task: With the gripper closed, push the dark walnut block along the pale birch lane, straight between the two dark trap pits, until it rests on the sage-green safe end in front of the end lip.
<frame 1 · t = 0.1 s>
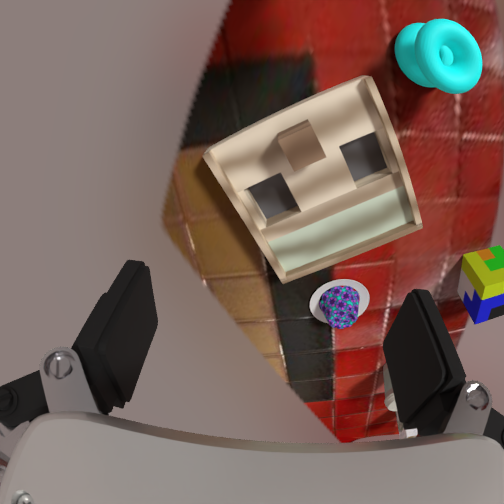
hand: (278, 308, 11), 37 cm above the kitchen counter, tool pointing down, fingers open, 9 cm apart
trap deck: (320, 178, 46), on the kitchen counter
donuts: (421, 54, 33), on the kitchen counter
coffee cup: (393, 364, 71), on the kitchen counter
puzzle toy: (478, 268, 53), on the kitchen counter
syrup box: (404, 403, 83), on the kitchen counter
pudding: (339, 299, 60), on the kitchen counter
walnut block: (300, 140, 40), point 3 cm above the kitchen counter, touching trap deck
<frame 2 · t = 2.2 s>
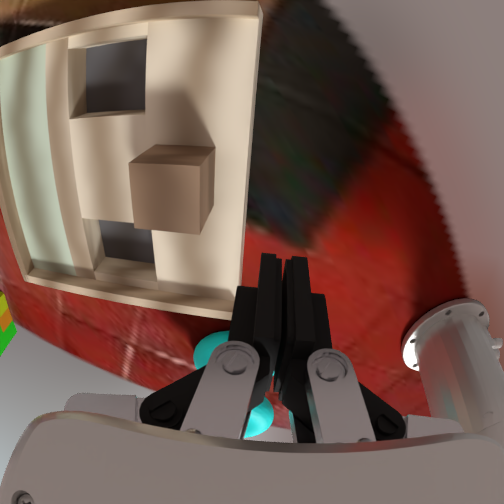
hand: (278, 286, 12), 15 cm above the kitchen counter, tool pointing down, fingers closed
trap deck: (114, 159, 25), on the kitchen counter
donuts: (236, 351, 37), on the kitchen counter
walnut block: (184, 174, 22), point 3 cm above the kitchen counter, touching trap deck
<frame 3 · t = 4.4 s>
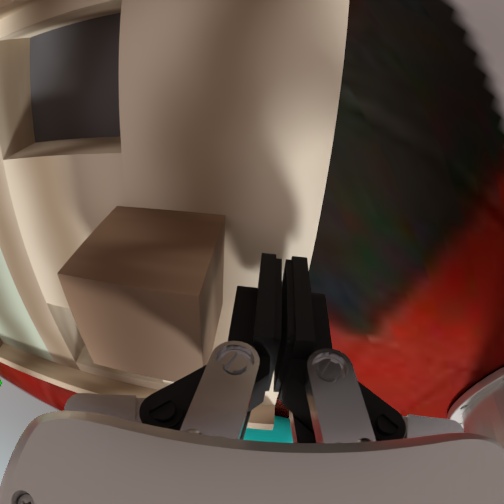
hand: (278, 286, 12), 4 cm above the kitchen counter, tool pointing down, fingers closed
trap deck: (83, 215, 16), on the kitchen counter
donuts: (261, 428, 28), on the kitchen counter
walnut block: (171, 257, 13), point 3 cm above the kitchen counter, touching gripper
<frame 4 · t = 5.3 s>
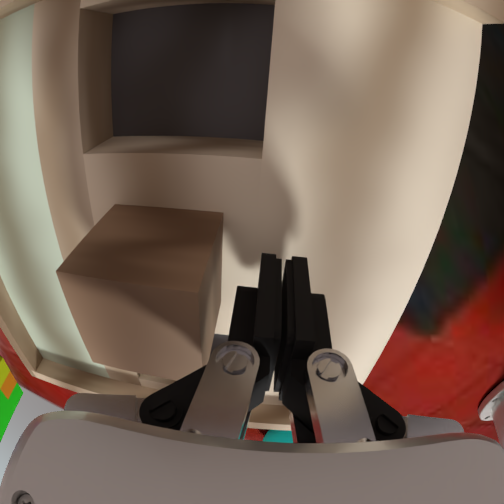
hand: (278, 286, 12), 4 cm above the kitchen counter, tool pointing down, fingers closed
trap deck: (168, 221, 16), on the kitchen counter
donuts: (311, 429, 28), on the kitchen counter
walnut block: (169, 255, 13), point 3 cm above the kitchen counter, touching gripper
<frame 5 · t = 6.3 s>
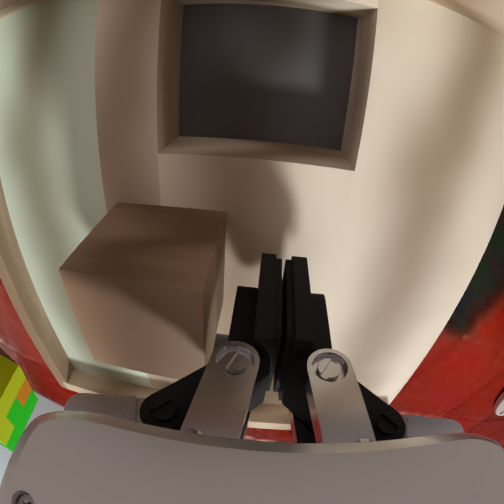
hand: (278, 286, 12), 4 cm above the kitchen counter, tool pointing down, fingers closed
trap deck: (232, 226, 15), on the kitchen counter
puzzle toy: (3, 367, 30), on the kitchen counter
walnut block: (172, 254, 13), point 3 cm above the kitchen counter, touching gripper, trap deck
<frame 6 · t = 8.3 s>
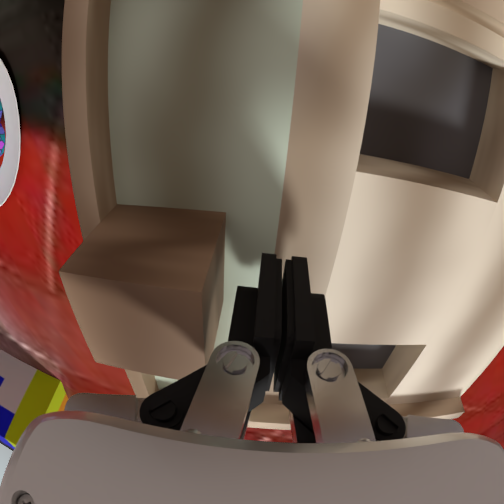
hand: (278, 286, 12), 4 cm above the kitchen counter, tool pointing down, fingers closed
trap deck: (369, 241, 15), on the kitchen counter
puzzle toy: (37, 382, 30), on the kitchen counter
walnut block: (171, 255, 13), point 3 cm above the kitchen counter, touching gripper, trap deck
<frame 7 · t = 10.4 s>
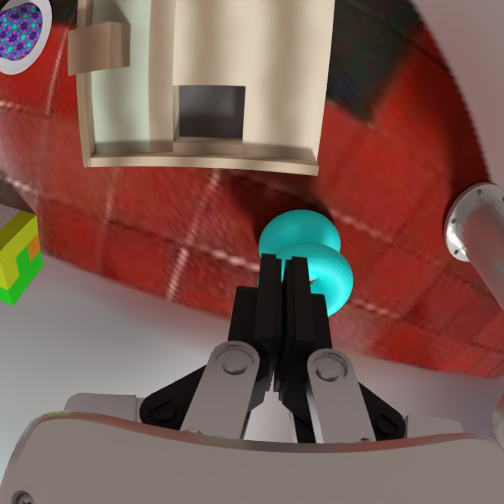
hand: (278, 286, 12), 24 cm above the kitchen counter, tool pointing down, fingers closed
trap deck: (205, 42, 26), on the kitchen counter
donuts: (298, 240, 39), on the kitchen counter
puzzle toy: (18, 233, 40), on the kitchen counter
pudding: (22, 31, 23), on the kitchen counter
walnut block: (110, 48, 23), point 3 cm above the kitchen counter, touching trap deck
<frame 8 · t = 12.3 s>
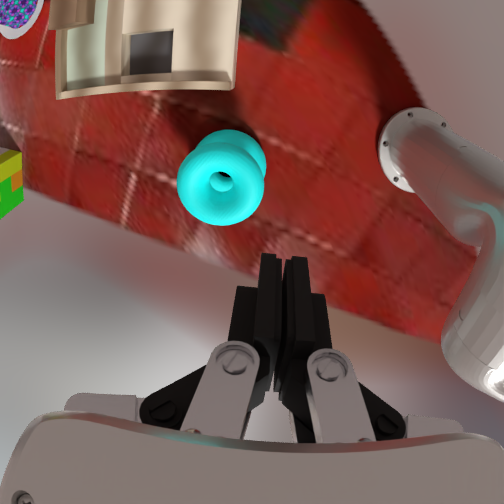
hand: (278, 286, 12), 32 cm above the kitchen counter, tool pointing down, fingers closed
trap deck: (150, 3, 29), on the kitchen counter
donuts: (230, 162, 42), on the kitchen counter
puzzle toy: (6, 171, 44), on the kitchen counter
pudding: (23, 6, 27), on the kitchen counter
walnut block: (81, 12, 27), point 3 cm above the kitchen counter, touching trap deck
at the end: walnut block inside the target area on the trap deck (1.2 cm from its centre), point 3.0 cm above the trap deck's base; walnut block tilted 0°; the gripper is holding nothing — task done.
